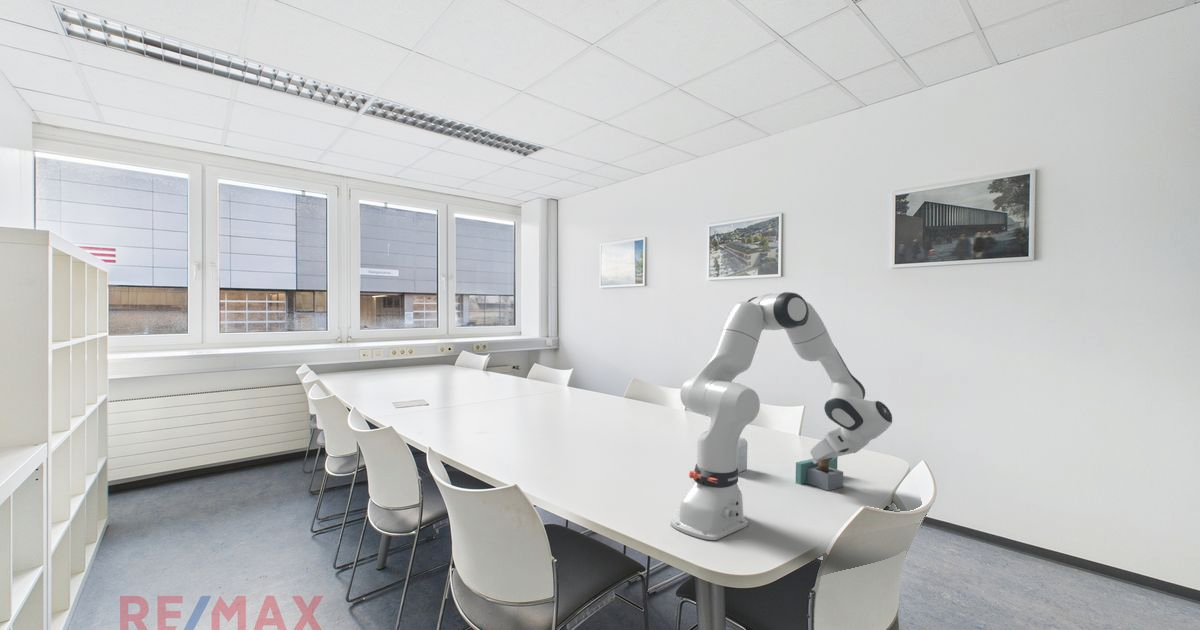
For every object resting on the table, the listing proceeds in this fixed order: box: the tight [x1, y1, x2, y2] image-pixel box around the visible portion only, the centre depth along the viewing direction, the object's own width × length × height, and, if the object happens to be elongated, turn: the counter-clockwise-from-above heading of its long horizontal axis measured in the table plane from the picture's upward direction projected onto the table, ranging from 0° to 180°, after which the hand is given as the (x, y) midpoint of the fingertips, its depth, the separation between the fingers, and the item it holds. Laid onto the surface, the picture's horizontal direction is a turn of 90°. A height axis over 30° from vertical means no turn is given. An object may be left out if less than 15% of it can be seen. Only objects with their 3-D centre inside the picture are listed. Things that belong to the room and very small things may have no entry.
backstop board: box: [795, 456, 839, 485], centre depth 166 cm, size 2×20×7 cm, turn 119°
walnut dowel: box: [818, 459, 829, 473], centre depth 161 cm, size 3×3×10 cm
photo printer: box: [737, 436, 748, 474], centre depth 173 cm, size 10×4×12 cm, turn 134°
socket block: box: [806, 466, 844, 491], centre depth 160 cm, size 8×8×5 cm
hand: (821, 459), depth 161 cm, fingers open, 6 cm apart
